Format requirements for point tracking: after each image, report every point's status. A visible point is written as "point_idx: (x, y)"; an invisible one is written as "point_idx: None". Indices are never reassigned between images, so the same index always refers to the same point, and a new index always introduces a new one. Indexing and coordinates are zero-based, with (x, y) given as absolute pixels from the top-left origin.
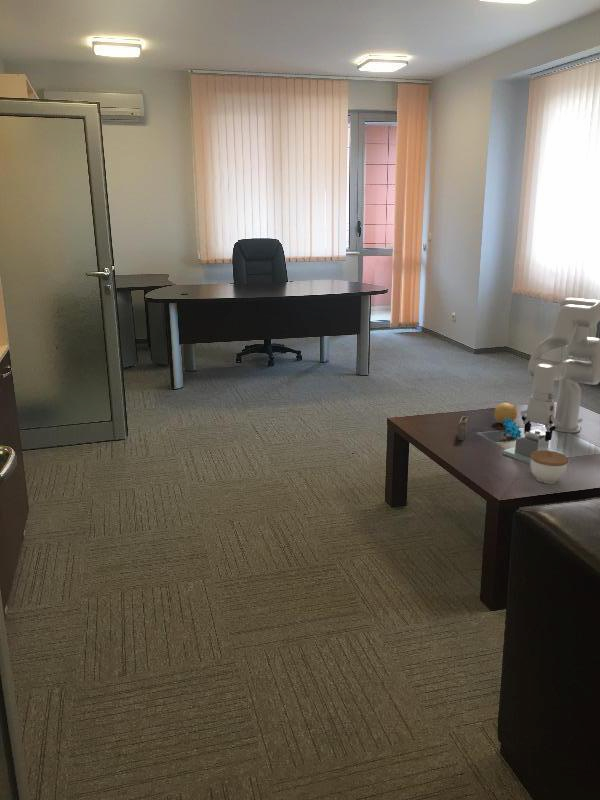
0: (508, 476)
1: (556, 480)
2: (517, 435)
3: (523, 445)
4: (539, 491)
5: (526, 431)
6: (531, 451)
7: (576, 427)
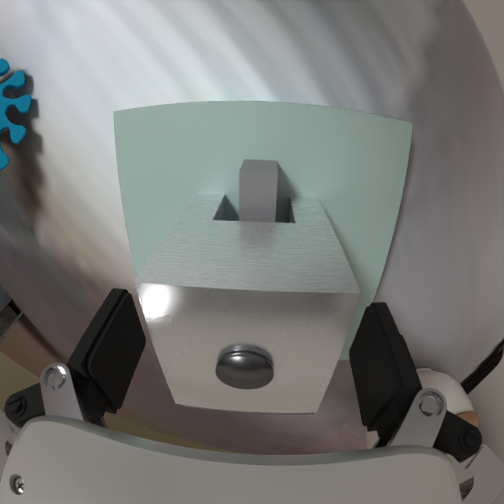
0: (314, 427)
1: None
2: (16, 105)
3: None
4: None
5: (136, 352)
6: None
7: None
